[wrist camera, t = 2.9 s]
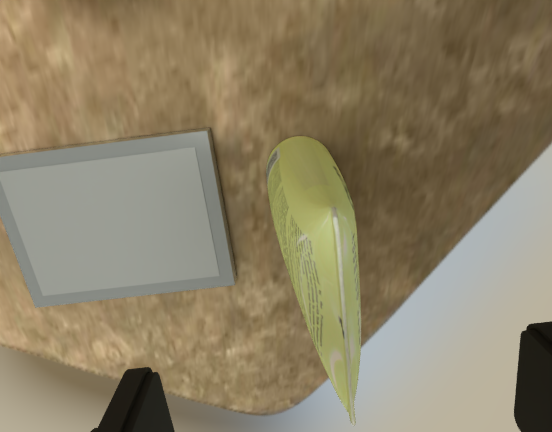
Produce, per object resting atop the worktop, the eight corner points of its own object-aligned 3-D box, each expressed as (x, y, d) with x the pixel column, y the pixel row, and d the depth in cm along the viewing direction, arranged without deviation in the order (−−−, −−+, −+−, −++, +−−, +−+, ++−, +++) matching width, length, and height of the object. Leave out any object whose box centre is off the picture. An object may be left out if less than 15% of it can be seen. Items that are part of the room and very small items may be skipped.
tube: (353, 170, 30) (475, 332, 12) (307, 219, 32) (353, 431, 13) (296, 119, 29) (336, 213, 11) (250, 172, 30) (216, 336, 12)
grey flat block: (210, 127, 29) (206, 130, 28) (236, 275, 33) (234, 285, 32) (-8, 155, 30) (-23, 160, 28) (45, 297, 34) (34, 308, 32)
